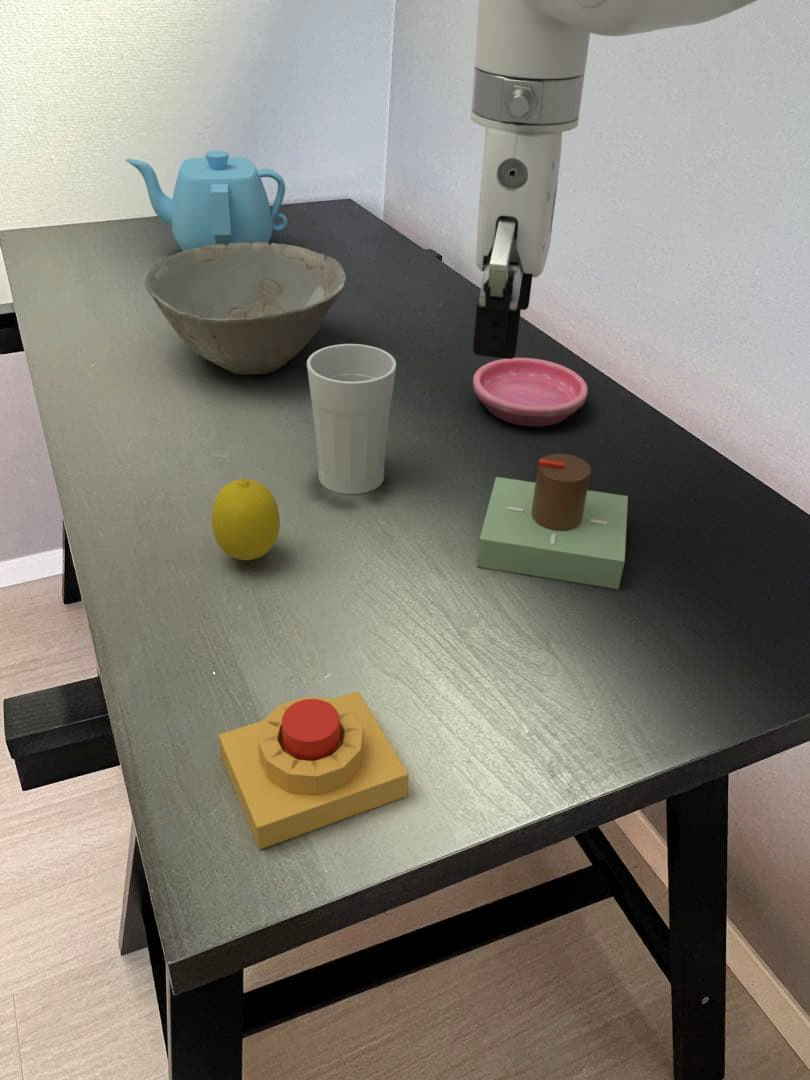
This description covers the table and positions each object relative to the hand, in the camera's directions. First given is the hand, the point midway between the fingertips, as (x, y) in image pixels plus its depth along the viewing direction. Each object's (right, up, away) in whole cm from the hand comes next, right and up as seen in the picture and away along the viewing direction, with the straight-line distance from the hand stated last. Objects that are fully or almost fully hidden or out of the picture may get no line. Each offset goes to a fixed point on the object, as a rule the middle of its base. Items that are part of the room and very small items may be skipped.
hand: (502, 329), depth 76 cm
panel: (+5, -17, +8) cm, 20 cm away
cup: (-13, -11, +16) cm, 23 cm away
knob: (+5, -15, +6) cm, 17 cm away
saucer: (+6, -2, +29) cm, 30 cm away
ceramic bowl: (-26, +5, +36) cm, 45 cm away
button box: (-14, -32, -14) cm, 38 cm away
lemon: (-21, -19, +5) cm, 29 cm away
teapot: (-36, +25, +63) cm, 77 cm away
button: (-14, -29, -16) cm, 36 cm away
